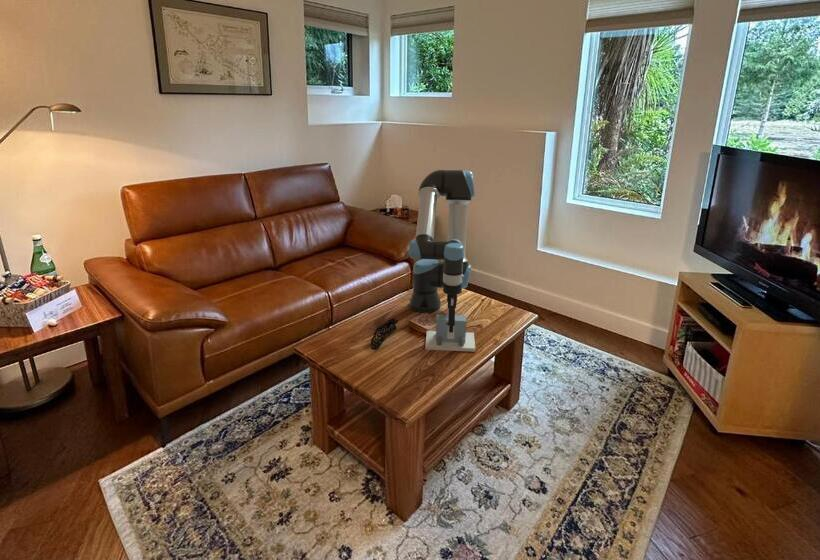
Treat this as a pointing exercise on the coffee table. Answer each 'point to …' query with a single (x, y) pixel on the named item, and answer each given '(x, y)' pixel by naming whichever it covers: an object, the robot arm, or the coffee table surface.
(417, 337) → the coffee table surface
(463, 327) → the slate block
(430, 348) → the pegboard
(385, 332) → the decorative element
